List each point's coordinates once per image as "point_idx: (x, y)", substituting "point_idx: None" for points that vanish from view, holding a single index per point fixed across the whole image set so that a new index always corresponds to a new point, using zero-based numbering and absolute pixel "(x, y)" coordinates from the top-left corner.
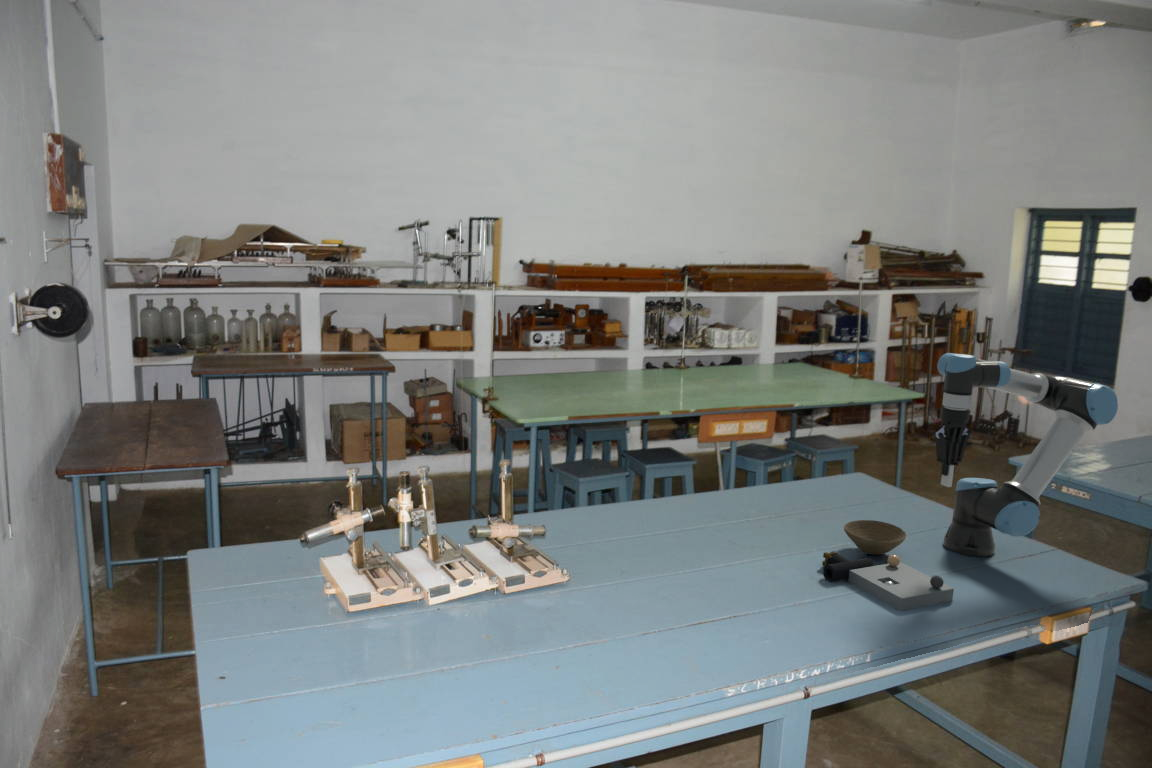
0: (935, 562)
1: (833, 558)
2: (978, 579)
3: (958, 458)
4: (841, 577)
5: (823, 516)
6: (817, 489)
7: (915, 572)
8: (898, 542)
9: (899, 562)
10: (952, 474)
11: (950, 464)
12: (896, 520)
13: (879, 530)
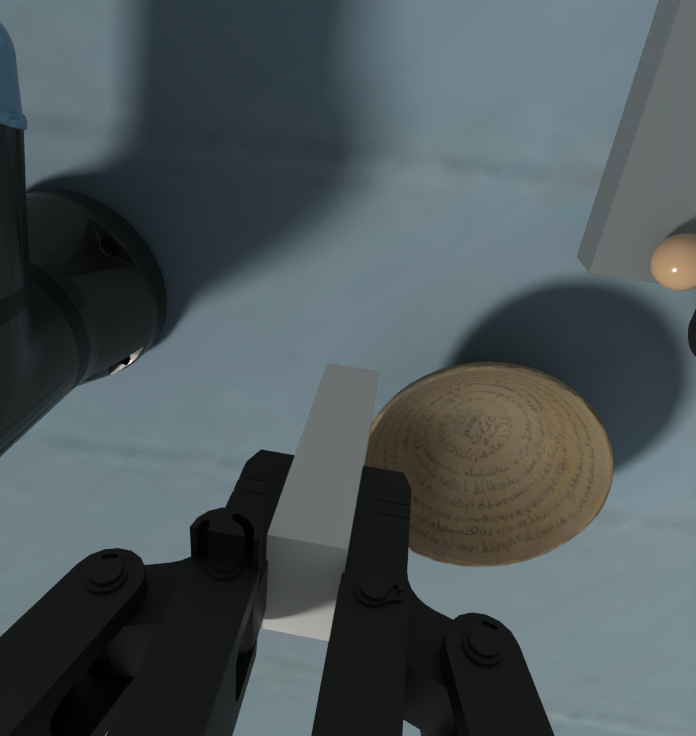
0: (328, 254)
1: None
2: (316, 30)
3: (120, 619)
4: None
5: None
6: None
7: (660, 150)
8: (498, 362)
9: (677, 236)
10: (313, 445)
11: (282, 579)
12: (139, 535)
13: None
